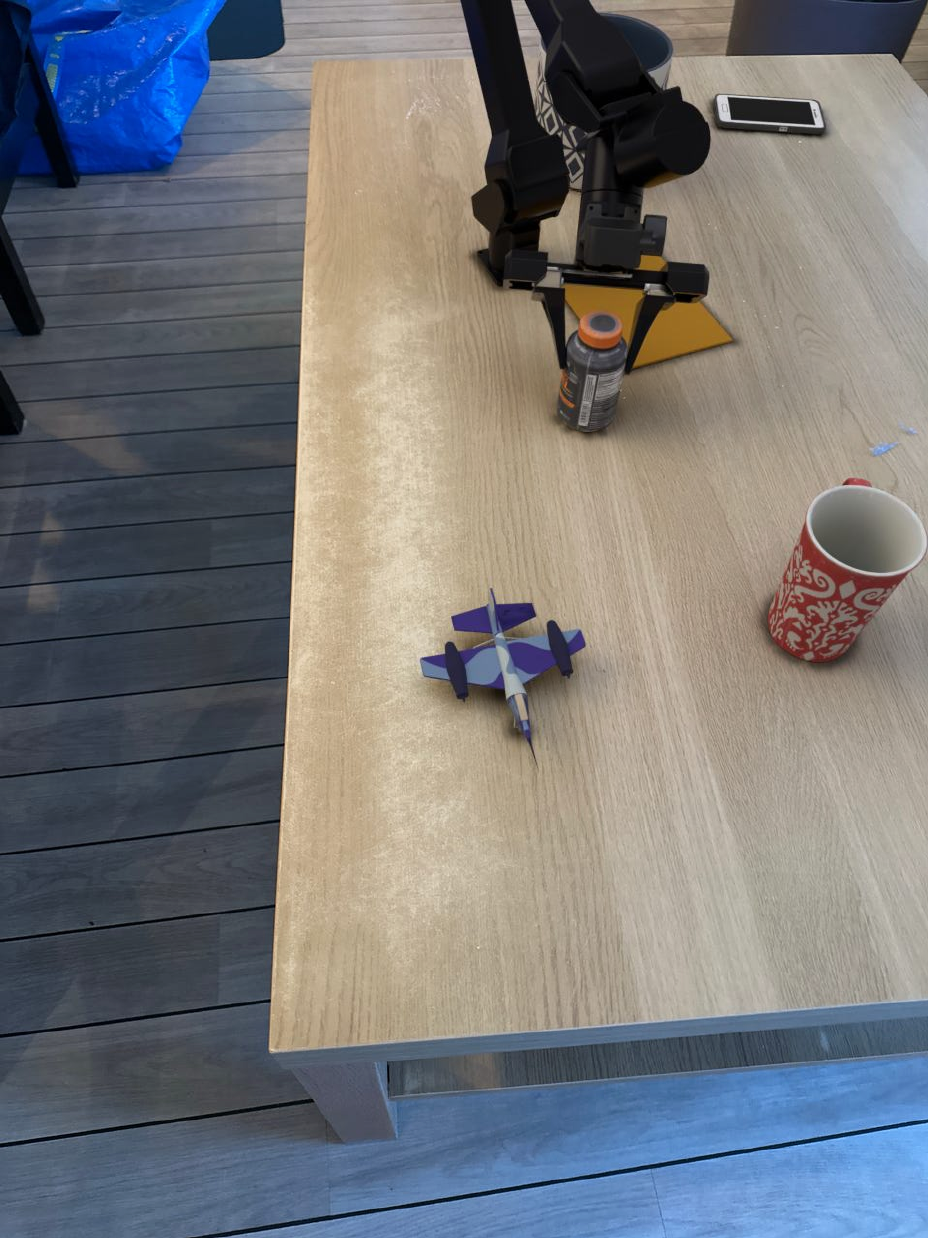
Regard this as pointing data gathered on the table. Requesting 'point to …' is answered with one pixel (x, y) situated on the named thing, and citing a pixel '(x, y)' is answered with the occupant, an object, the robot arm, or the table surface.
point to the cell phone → (769, 113)
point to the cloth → (671, 328)
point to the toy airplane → (504, 656)
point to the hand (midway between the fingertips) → (594, 371)
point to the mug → (844, 568)
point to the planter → (652, 55)
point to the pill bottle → (592, 372)
